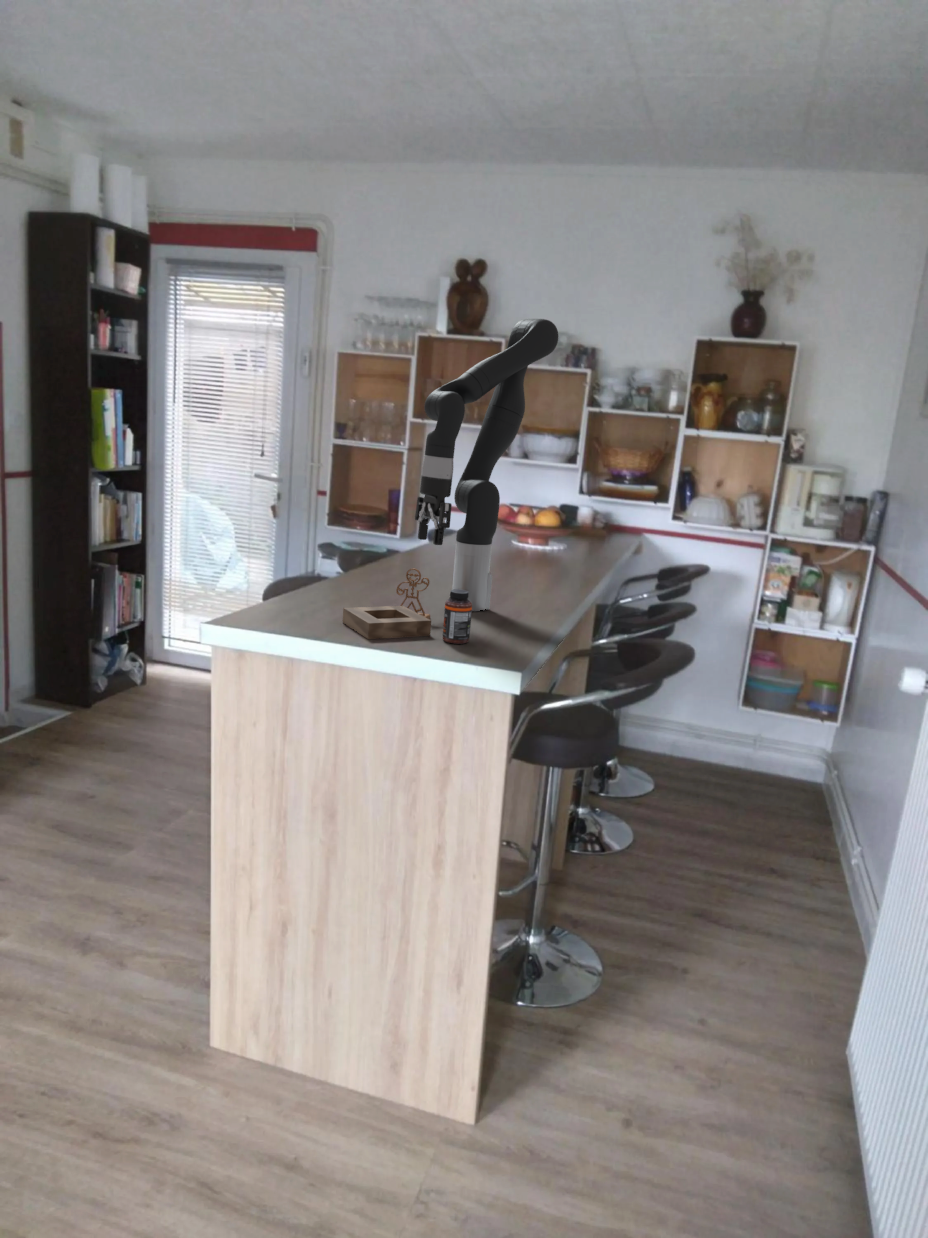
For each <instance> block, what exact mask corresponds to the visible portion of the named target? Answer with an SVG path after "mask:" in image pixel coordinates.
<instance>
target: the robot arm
mask: <svg viewBox="0 0 928 1238" xmlns="http://www.w3.org/2000/svg"><path fill="white" fill-rule="evenodd" d="M558 343H559V331H558V329H557V326H556V325H555V323H553V322H552V321H551V320H549V319H545V318H525V319H521V320H519V321H518V322H516V323H515V324H514V326H513V327H512V330H511V331H510V335H509V338H508V341H507V346H506V349H504V350H502V351H501V352H498V353H495V354H493V355H492V356H489V357H486V358H484V359H483V360H481V361H479V362H477V363H476V364H474V365H472V367H470V368H469V369H468V370H466V371H465V372H464V373H462V374H461V375H460V376H459V377H457V378H455V379H453V380H451V381H449V382H448V383H445V384H443V385H441V386H440V387H438V388H436V389H434V390H433V391H432V392H431V393H429V394H428V396H427V397H426V399H425V401H424V412H425V414H426V416H427V417H428V418H430V419H431V420H432V421H436V425H435V428H434V429H433V431H430V432H428V434H427V435H426V440H425V449H424V456H423V457H424V458H423V460H422V461H423V462H422V467H421V468H422V469H421V477H420V487H419V493H420V495H422V496H418V497H417V500H416V508H415V514H414V519H415V521H417V523H418V524H419V525H418V533H417V539H418V540H419V541H420V540H421V541H422V540H423V541H424V540H426V541H427V539H428V531H429V523H430V521H432V522H433V524H434V533H433V541H432V543H433V545H435V546H442V545H443V544H444V543H443V542H444V535H445V534H444V532H445V530H446V529H450V526H451V518H452V517H451V516H452V507H453V506H452V503H450V502H446V500H445V498H449V497H450V496H451V492H452V484H453V477H454V476H453V475H454V457H455V450H456V448H455V447H456V442H457V441H456V440H457V438H458V436H459V433H460V431H461V427H462V424H463V421H464V418H465V413H466V412H465V411H466V410H465V405H467V404H472V403H475V402H477V401H478V400H480V399H481V398H482V397H483V396H485V395H486V394H487V393H489V392H490V391H491V390H493V389H494V391H493V393H492V397H491V399H490V400H489V403H488V407H487V409H486V411H485V414H484V417H483V420H482V423H481V424H482V425H481V427H480V429H479V432H478V435H477V438H476V440H475V442H474V447H473V449H472V452H471V454H470V457H469V459H468V462H467V463H466V466H465V468H464V470H463V472H462V475H461V476H460V478H459V480H458V482H457V485H456V487H455V491H454V503H455V506H456V508H457V510H459V511H460V512H462V513H464V514H465V521H464V524H463V526H462V527H461V528H459V529H458V530H457V531H456V536H455V537H456V538H455V547H454V549H455V550H454V562H453V575H452V576H453V577H452V588H451V590H453V589H460V590H466V591H468V592H469V597H468V600H469V601H470V602H471V603H472V612H481V611H480V610H483V611H486V610H490V607H491V606H490V605H491V595H492V584H493V583H492V582H493V573H492V572H490V568H491V567H490V566H491V557H492V546H493V539H494V535H495V534H496V531H497V526H498V519H499V512H500V506H501V505H500V503H501V502H500V499H501V497H500V492H499V489H498V487H497V485H496V484H495V483H493V482H491V481H490V479H491V476H492V473H493V471H494V468H495V466H496V464H497V463H498V461H499V459H500V458H502V456H503V455H504V453H505V452H506V451H507V450H508V448H509V447H510V445H511V444H512V443H513V441H514V440H515V439H516V437H517V435H518V433H519V429H520V427H521V424H522V421H523V418H524V416H525V411H526V398H525V397H526V396H525V387H524V385H525V382H524V381H525V376H526V373H527V370H528V367H529V366H530V365H531V364H533V363H536V362H537V361H540V360H541V359H543V358H546V357H547V356H549V355H550V354H552V353H553V352H554V351H555V349H556V348H557V346H558ZM485 609H486V610H485Z"/></svg>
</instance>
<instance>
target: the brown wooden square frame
mask: <svg viewBox="0 0 928 1238" xmlns="http://www.w3.org/2000/svg"><path fill="white" fill-rule="evenodd" d="M418 613H419V612H418ZM418 613H416V612H415V610H412V609H410V608H407V607H406V606H404V605H402V606H400V605H386V606H358V607H355V606H354V607H343V609H342V624H344V625H345V624H346V625H345V626H347V627H348V628H350V629H351V630H353V629H354V630H353V631H355V632H356V631H357V632H356V633H358V634H359V635H361V636H362V637H364V638H365V639H366V640H379V638H380V639H392V638H395V639H397V638H398V639H399V638H411V637H412V638H414V637H415V638H417V637H429V636H431V632H432V620H431V619H427V618H426V617H424V616H422V615H420V614H418Z"/></svg>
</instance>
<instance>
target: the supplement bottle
mask: <svg viewBox="0 0 928 1238" xmlns="http://www.w3.org/2000/svg"><path fill="white" fill-rule="evenodd" d="M449 592H450V594H449V598H448V599H446V601H445V602H444V611H443V612H444V615H443V624H442V625H443V626H442V640H443V641H444V642H445V643H447V644H448V643H449V644H452V645H453V644H454V645H463V644H467V643H469V641H470V636H471V625H472V612H473V611H472V603H471V602H470V601H469V600H468V597H469V592H468V591H466V590H460V589H453V590H452V589H450V591H449Z"/></svg>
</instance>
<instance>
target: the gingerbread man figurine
mask: <svg viewBox="0 0 928 1238" xmlns="http://www.w3.org/2000/svg"><path fill="white" fill-rule="evenodd" d="M411 571H416V572H417V573H415V574H414V573H413V572H411ZM411 577H415V579H413V578H411ZM405 578H406V581H402V582H400V583H399V584H398V585H397V587H396V594H397V595H398V596H402V595H404V594H405V598H404V599H403V601H402V603H400V605H399V606H404V604H405V602H406V600H407V599H414V600H416V602H417V603H418V606H419V608H418V609H416V606H415V604H414V602H413V600H412V601H410V603H408V605H407V607H406V608H408V609H410V607H411V606H412V607H413V611H414V612H416V613H418V614H420V615H422V616H424V617H426V618H427V619H429V620H431V614H430V613H425V610H424V608H423V606H422V603H421V602H420V599H419V594H420V593H419V592H423V591H425V590H427V589H428V587H429V585H430V579H429V578H428V577H426V576H425V577H423V578H422V574H421V571H420V570H419V569H417V568H414V567H413V568H410V569H408V570H407V572H406V573H405ZM424 580H427V582H426V581H424ZM402 584H408V586H409V587H410V590H411V592H410V595H408V594H409V588H408V587H406V588H404V589H403V588H401V587H400V586H401V585H402ZM422 584H424V585H425V588H423V589H417V590H416V595H415V592H414V590H415V588H417V586H418V585H422ZM399 591H400V592H402V593H400V592H399ZM414 595H415V596H414Z"/></svg>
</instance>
